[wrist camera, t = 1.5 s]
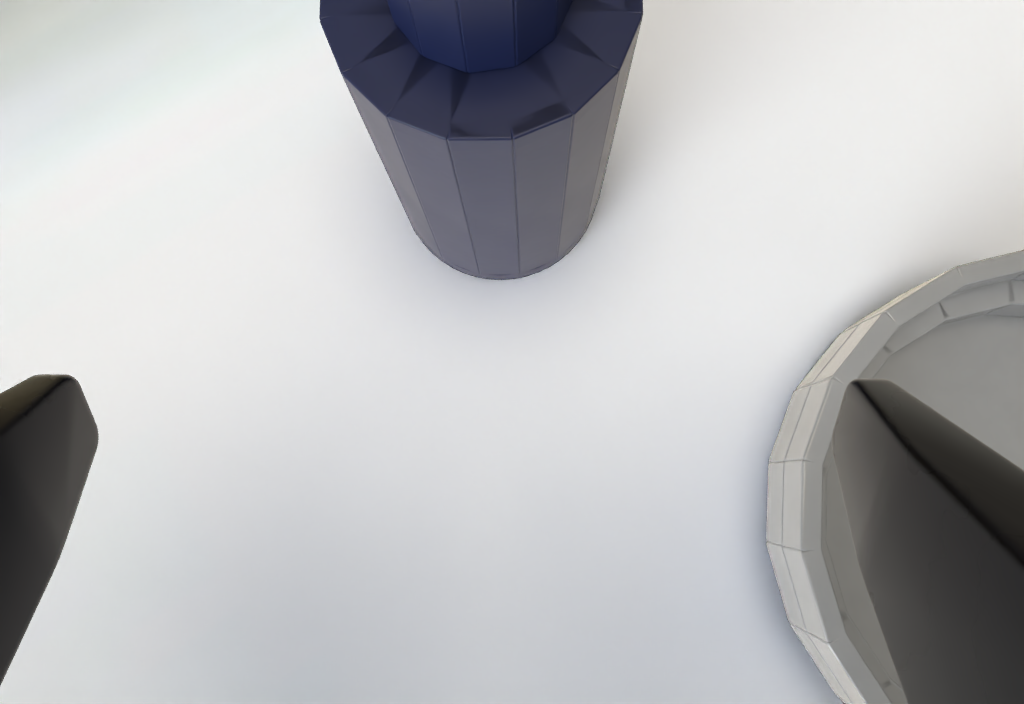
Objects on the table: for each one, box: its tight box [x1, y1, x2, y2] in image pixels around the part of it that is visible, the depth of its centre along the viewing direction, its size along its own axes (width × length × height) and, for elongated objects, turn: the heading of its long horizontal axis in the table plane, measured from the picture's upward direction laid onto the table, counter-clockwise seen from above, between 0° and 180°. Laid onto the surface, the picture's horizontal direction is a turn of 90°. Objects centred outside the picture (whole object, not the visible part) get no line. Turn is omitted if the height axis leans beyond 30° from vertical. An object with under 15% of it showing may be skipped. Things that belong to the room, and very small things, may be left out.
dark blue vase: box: [320, 0, 643, 280], centre depth 17 cm, size 6×6×12 cm
